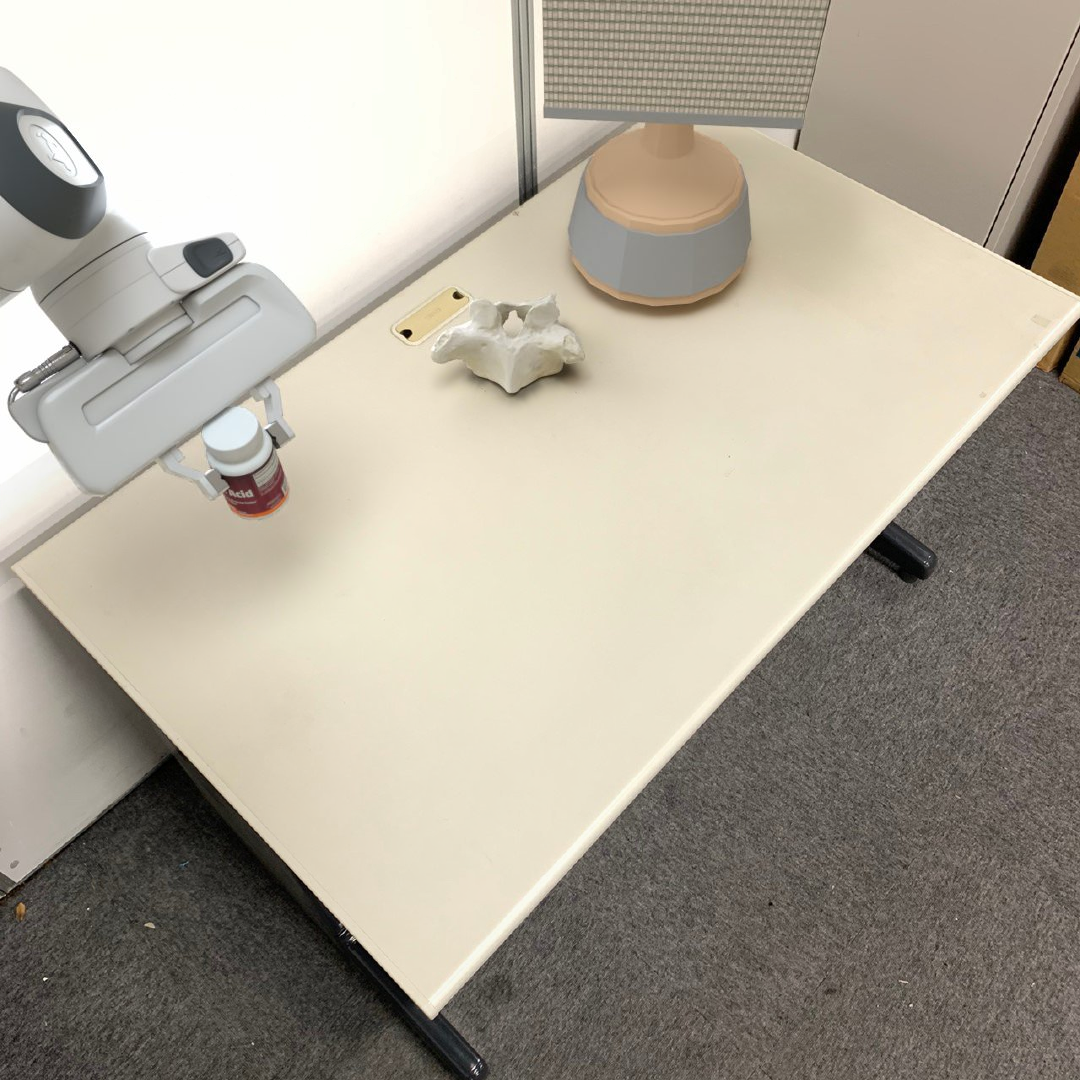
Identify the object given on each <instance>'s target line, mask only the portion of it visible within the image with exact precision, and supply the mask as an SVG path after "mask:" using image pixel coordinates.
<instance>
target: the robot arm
mask: <svg viewBox="0 0 1080 1080" xmlns="http://www.w3.org/2000/svg"><path fill="white" fill-rule="evenodd" d="M113 189H114V188H113V187H112V185H111V182H110V180H109V178H108V176H107V174H106V173H105V172H104V171H103V169H102V167H100V165H99V164H98V162H97V161H96V160H95V159H94V157H93V156H92V155H91V154H90V152H89V151H88V150H87V149H86V147H85V146H84V145H83V143H81V141H79V139H78V138H77V137H76V136H75V134H73V132H72V131H71V130H70V129H69V128H68V126H67V125H66V124H65V123H64V122H63V121H62V120H61V119H60V117H58V115H56V114H55V112H54V111H53V110H52V109H51V108H50V107H49V106H48V105H47V104H46V103H45V102H44V101H43V100H42V99H41V98H40V96H38V95H37V94H36V93H35V92H34V91H33V89H31V88H30V87H29V86H28V85H27V84H26V83H25V82H24V81H23V80H22V79H21V78H20V77H18V76H17V75H16V74H14V73H13V72H12V71H11V70H9V69H8V68H6V67H5V66H4V67H3V66H1V65H0V309H1V308H3V306H5V305H6V304H8V303H10V301H12V300H13V299H14V298H16V297H17V296H19V295H20V294H21V293H22V292H24V291H25V290H26V289H28V290H29V292H30V294H31V296H32V299H33V301H34V302H35V303H36V304H37V307H39V308H40V310H41V311H42V312H43V313H44V314H45V315H46V317H47V318H48V319H49V320H50V322H51V323H52V324H53V325H54V327H56V329H57V330H58V331H59V332H60V334H62V336H63V337H64V338H65V340H66V341H67V342H68V343H67V344H66V345H64V346H62V347H61V348H60V349H58V350H56V351H55V352H53V353H52V354H51V355H49V356H48V357H47V358H46V359H45V360H43V361H42V362H40V364H38V365H37V366H35V367H34V368H32V369H29V370H26V371H25V372H23V373H22V374H20V375H19V376H18V377H16V379H14V381H13V385H14V387H13V388H12V389H11V390H10V393H9V394H8V396H7V401H6V404H7V410H8V413H9V415H10V417H11V418H12V420H13V421H14V422H15V423H16V424H17V426H18V427H19V428H20V429H21V430H22V431H23V433H24V434H25V435H26V436H28V437H29V439H32V440H33V441H36V442H37V443H41V444H46V445H47V447H48V448H49V450H50V451H51V453H52V455H53V456H54V458H55V459H56V461H57V463H59V465H60V467H61V469H62V470H63V471H64V472H65V473H66V475H67V476H68V478H69V479H70V480H71V481H72V483H73V484H74V485H75V486H76V487H77V489H78V490H79V491H80V492H81V493H82V494H84V495H86V496H89V497H95V498H97V497H98V498H103V497H105V496H107V495H108V494H110V493H111V492H113V491H114V490H116V489H117V488H118V487H120V486H121V485H123V484H124V483H125V482H127V481H128V480H129V479H131V478H132V477H133V476H135V475H136V474H137V473H139V472H140V471H141V470H143V469H145V468H146V467H147V466H148V465H149V464H151V463H153V462H154V461H155V463H156V464H157V465H158V466H159V467H160V468H161V469H162V471H163V473H166V474H168V475H171V476H173V477H176V478H179V479H181V480H185V481H187V482H189V483H194V484H195V486H196V487H197V488H198V489H199V491H200V492H201V493H202V495H204V496H205V498H206V499H207V500H209V501H210V502H211V501H215V500H216V499H218V498H219V497H220V496H221V495H223V493H224V492H225V491H226V490H227V489H229V488H230V487H229V485H228V483H227V482H226V481H225V480H222V479H221V475H220V473H219V472H218V471H217V470H216V469H215V468H213V469H211V468H210V469H208V470H206V471H205V472H201V471H199V470H196V469H194V468H191V467H189V466H186V465H184V464H182V463H181V462H182V461H184V460H185V459H186V456H185V455H184V453H183V452H182V451H181V449H179V447H178V446H177V444H178V443H180V442H181V441H182V440H184V439H185V438H186V437H188V436H189V435H190V434H192V433H193V432H194V431H196V430H197V429H198V428H200V427H202V426H203V424H204V423H205V422H207V421H208V420H210V419H211V418H212V417H214V416H215V415H216V414H218V413H219V412H220V411H222V410H223V409H224V408H227V407H230V405H232V404H233V403H234V402H235V401H237V400H238V399H240V398H241V397H242V396H243V395H245V394H246V393H248V394H249V395H250V396H251V397H252V398H253V400H254V401H255V402H256V403H259V402H261V401H263V405H264V409H265V415H266V420H267V425H266V426H264V427H262V428H263V429H265V430H266V431H267V432H268V434H269V435H270V436H271V439H272V442H273V444H274V447H275V450H279V449H282V448H283V447H284V446H286V445H287V444H289V443H290V442H291V441H292V440H294V439H295V438H296V434H295V432H294V430H293V429H292V428H291V427H290V425H289V424H288V423H287V421H286V420H285V419H284V418H283V417H284V412H283V404H282V397H281V389H280V388H279V386H278V385H277V384H276V382H275V381H274V379H273V378H272V377H271V375H273V373H275V372H277V370H279V369H280V368H282V367H283V366H285V365H286V364H287V363H288V362H290V361H291V360H292V359H294V358H295V357H296V356H298V355H299V354H301V353H302V352H304V351H305V350H307V349H308V348H310V346H312V345H313V344H315V343H316V341H317V339H318V330H317V329H318V328H317V323H316V321H315V318H314V317H313V316H312V314H311V313H310V311H309V310H308V309H307V308H306V306H305V305H304V304H303V302H302V300H300V299H299V298H298V296H297V295H296V294H295V293H294V292H293V291H292V289H291V288H290V287H289V286H288V285H287V283H285V282H284V281H283V280H282V279H281V277H279V276H278V274H277V273H275V272H274V271H273V270H272V269H271V268H270V267H268V266H266V265H265V264H262V263H261V262H257V261H253V260H252V261H251V260H246V261H242V260H243V259H244V258H245V257H246V254H247V249H246V247H245V245H244V243H243V242H242V240H241V238H240V237H239V236H238V235H237V234H236V233H235V232H233V231H230V230H229V231H228V230H224V231H219V232H215V233H211V234H207V235H202V236H198V237H193V238H190V239H186V240H181V241H176V242H172V243H168V244H167V243H166V244H162V245H160V244H159V242H158V241H157V239H155V237H154V236H153V234H152V233H151V232H150V230H149V229H148V228H147V227H146V226H145V225H143V223H142V222H140V221H139V220H137V219H136V218H135V217H133V215H131V214H130V213H129V212H128V210H126V209H125V207H124V206H123V205H122V204H121V202H120V200H119V199H118V197H117V195H116V194H115V191H114V190H113ZM19 393H21V394H23V395H22V396H20V397H19V398H17V396H18V395H19ZM16 398H17V399H16Z"/></svg>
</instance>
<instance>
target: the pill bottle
mask: <svg viewBox="0 0 1080 1080" xmlns="http://www.w3.org/2000/svg"><path fill="white" fill-rule="evenodd" d="M263 428H264V427H262V426H261V424H260V421H259V419H258V417H257V416H256V414H255V413H254V412H253V411H251V410H250V409H248V408H246V407H243V406H235V405H234V406H227V407H226V408H224V409H223V410H222V411H220V412H219V413H218V414H216V415H215V416H214V417H212V418H211V419H210V420H208V421H207V422H205V423H204V424H203V425H201V431H200V434H201V439H202V441H203V444H204V446H205V458H206V462H207V463H208V466H209V468H210V469H213V468H215V469H216V470H217V471H218V472H219V473H220V475H221V479H222V480H225V481H226V482H227V483H228V485H229V487H230V488H229V489H227V490H226V491H225V492H224V493H222V495H223V497H224V499H225V501H226V503H227V505H228V507H229V509H230V510H231V512H232V513H233V514H234V515H236V516H237V517H239V518H241V519H242V520H246V521H250V522H251V521H253V522H255V521H262V520H267V519H269V518H271V517H274V516H275V515H277V513H279V512H281V510H282V509H283V508H284V507H285V506H286V505H287V503H288V501H289V498H290V493H291V491H290V490H291V489H290V485H289V484H290V483H289V482H288V479H287V476H286V473H285V470H284V468H283V465H282V463H281V460H280V458H279V455H278V453H277V449H275V447H274V444H273V442H272V439H271V436H270V435H269V434H268V432H267V431H266V430H265V429H263Z"/></svg>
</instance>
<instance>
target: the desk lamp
mask: <svg viewBox="0 0 1080 1080" xmlns="http://www.w3.org/2000/svg"><path fill="white" fill-rule="evenodd" d="M829 2H830V0H541V8H542V10H541V12H542V14H541V15H542V57H543V58H542V59H543V60H542V61H543V62H542V63H543V65H542V66H543V100H544V101H543V105H542V106H543V107H542V109H543V111H542V113H543V116H542V117H543V119H550V120H551V119H553V120H575V121H576V120H577V121H597V122H599V121H601V122H602V121H603V122H619V123H620V122H621V123H622V122H623V123H642V124H643V123H644V126H643V128H642V127H641V128H636V129H634V130H631V131H627V132H624V133H622V134H619V135H616V136H614V137H612V138H610V139H609V140H608V141H607V142H606V143H604V144H603V145H601V146H600V147H599V148H598V149H596V150H595V151H594V152H593V155H592V156H590V157H589V158H588V161H587V163H586V165H585V168H584V169H583V172H582V174H581V176H580V180H579V183H578V188H577V191H576V196H575V199H574V203H573V207H572V211H571V215H570V219H569V223H568V227H567V233H568V242H569V249H570V256H571V261H572V263H573V264H574V266H575V267H576V268H577V270H578V271H579V272H580V273H581V275H582V276H583V277H584V278H585V280H586V281H587V282H588V283H589V284H590V285H592V286H593V287H595V288H597V289H599V290H600V291H603V292H604V293H606V294H608V295H610V296H612V297H614V298H615V299H617V300H621V301H625V302H631V303H635V304H636V303H637V304H641V305H645V306H651V307H661V306H672V305H673V306H674V305H675V306H676V305H686V304H687V305H688V304H693V303H695V302H697V301H700V300H702V299H705V298H707V297H710V296H712V295H715V294H717V293H720V292H722V291H723V290H724V289H725V288H726V287H727V286H728V285H729V284H730V283H731V282H732V281H734V279H735V278H737V277H738V276H739V275H740V274H741V273H742V272H743V268H744V265H745V263H746V259H747V256H748V252H749V249H750V246H751V242H752V228H751V227H752V225H751V212H750V210H751V209H750V196H749V195H750V193H749V185H748V181H747V178H746V175H745V172H744V169H743V166H742V164H741V163H740V161H739V158H738V157H737V156H736V155H735V154H734V153H733V152H731V151H730V150H729V148H728V147H726V146H725V144H723V143H722V142H721V141H719V140H717V139H714V138H713V137H710V136H707V135H705V134H703V133H701V132H699V131H696V130H695V128H694V126H712V127H713V126H714V127H732V128H733V127H737V128H760V129H778V130H779V129H781V130H783V129H784V130H803V127H804V124H805V114H806V109H807V104H808V100H809V95H810V90H811V86H812V82H813V77H814V73H815V67H816V63H817V58H818V53H819V49H820V44H821V40H822V35H823V31H824V27H825V22H826V17H827V12H828V8H829Z"/></svg>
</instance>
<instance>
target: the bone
mask: <svg viewBox="0 0 1080 1080" xmlns="http://www.w3.org/2000/svg"><path fill="white" fill-rule="evenodd" d="M557 296H558V293H557V292H556V293H553V294H552V293H550V294H549V295H547V296H546V297H544V298H542V299H539V300H533V301H530V300H525V301H523V302H515V303H513V302H509V301H505V300H498V301H496V302H491V301H489V299H487V298H484V297H477V298H476V299H473V300H471V302H470V303H469V304H468V305H467V308H468V312H469V318H470V320H468V321H467V322H464V323H463V324H460V325H455V326H452V327H449V328H448V329H446V330H443V331H442V332H441V334H440V335H439V336H438V338H436V339H437V340H436V341H435V342H434V344H433V345H432V346H431V350H430V358H431V361H433V362H434V363H436V364H439V365H444V364H447V363H449V362H451V361H456V360H458V361H459V360H461V361H463V362H465V363H466V367H467V368H468V369H469V370H471V371H472V372H473V374H474V375H476V376H477V377H480V378H483V379H488V380H489V381H492V382H495V383H496V384H498V385H500V386H501V388H502V389H504V390H505V391H506V392H507V393H508V394H514V393H517V392H519V391H520V389H521V388H524V387H526V386H528V385H530V384H531V383H533V382H534V381H536V380H538V379H540V378H542V377H548V376H551V375H555V374H558V373H560V372H561V371H562V370H563V366H564V363H565V364H566V365H567V364H569V365H570V364H577V363H579V362H584V361H585V359H586V354H585V351H584V349H583V344H582V341H581V339H580V337H579V336H578V335H577V334H576V333H575V332H574V331H573V330H571V329H570V328H567V327H564V326H562V325H561V323H560V322H559V318H560V316H561V311H560V308H559V307H558V306H557V300H556V297H557ZM513 311H516V317H517V318H518V319H521V321H522V322H523V323H522V326H521V328H520V330H519V332H518V333H517V335H516V336H514V337H512V338H511V336H510V337H509V335H508V333H507V331H505V330H504V327H503V326H504V325H505V323H506V321H507V320H509V317H510V313H511V312H513Z"/></svg>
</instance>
